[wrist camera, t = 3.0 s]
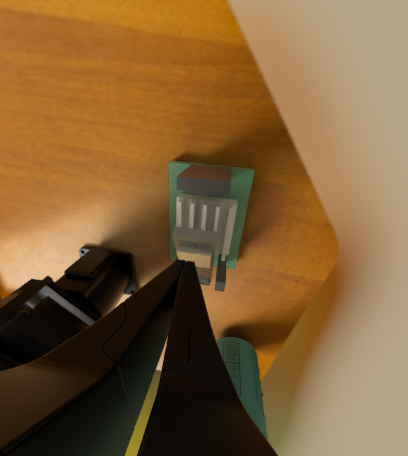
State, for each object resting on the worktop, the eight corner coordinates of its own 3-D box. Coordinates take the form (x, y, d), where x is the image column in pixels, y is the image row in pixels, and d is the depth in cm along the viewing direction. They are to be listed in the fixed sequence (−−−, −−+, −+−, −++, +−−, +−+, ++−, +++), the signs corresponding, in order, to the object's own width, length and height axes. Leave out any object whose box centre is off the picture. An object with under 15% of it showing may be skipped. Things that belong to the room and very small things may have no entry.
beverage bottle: (215, 320, 25) (180, 756, 8) (263, 331, 25) (341, 805, 7) (207, 346, 28) (169, 699, 11) (249, 356, 28) (282, 733, 10)
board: (234, 261, 20) (236, 305, 15) (172, 253, 21) (154, 292, 16) (253, 168, 15) (264, 185, 10) (172, 160, 16) (145, 172, 11)
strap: (212, 274, 17) (210, 288, 16) (186, 270, 17) (183, 284, 16) (218, 227, 10) (215, 248, 9) (175, 221, 10) (170, 241, 10)
